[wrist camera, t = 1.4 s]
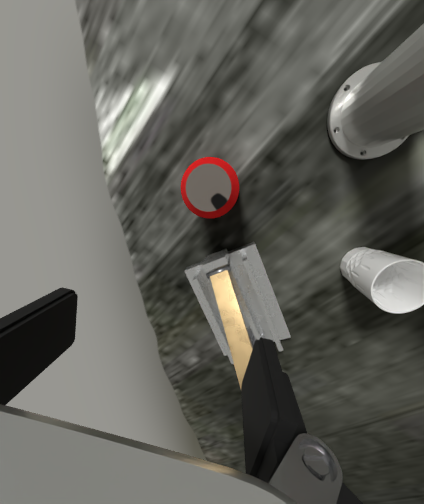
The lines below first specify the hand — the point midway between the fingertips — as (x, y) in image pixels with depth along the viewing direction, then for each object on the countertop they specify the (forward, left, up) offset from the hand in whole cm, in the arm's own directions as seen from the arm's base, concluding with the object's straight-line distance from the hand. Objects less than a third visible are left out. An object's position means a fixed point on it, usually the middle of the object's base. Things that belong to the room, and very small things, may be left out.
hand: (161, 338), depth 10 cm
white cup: (-22, +15, -30) cm, 40 cm away
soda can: (-3, -7, -30) cm, 31 cm away
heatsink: (+1, +14, -30) cm, 33 cm away
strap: (+1, +12, -18) cm, 22 cm away
